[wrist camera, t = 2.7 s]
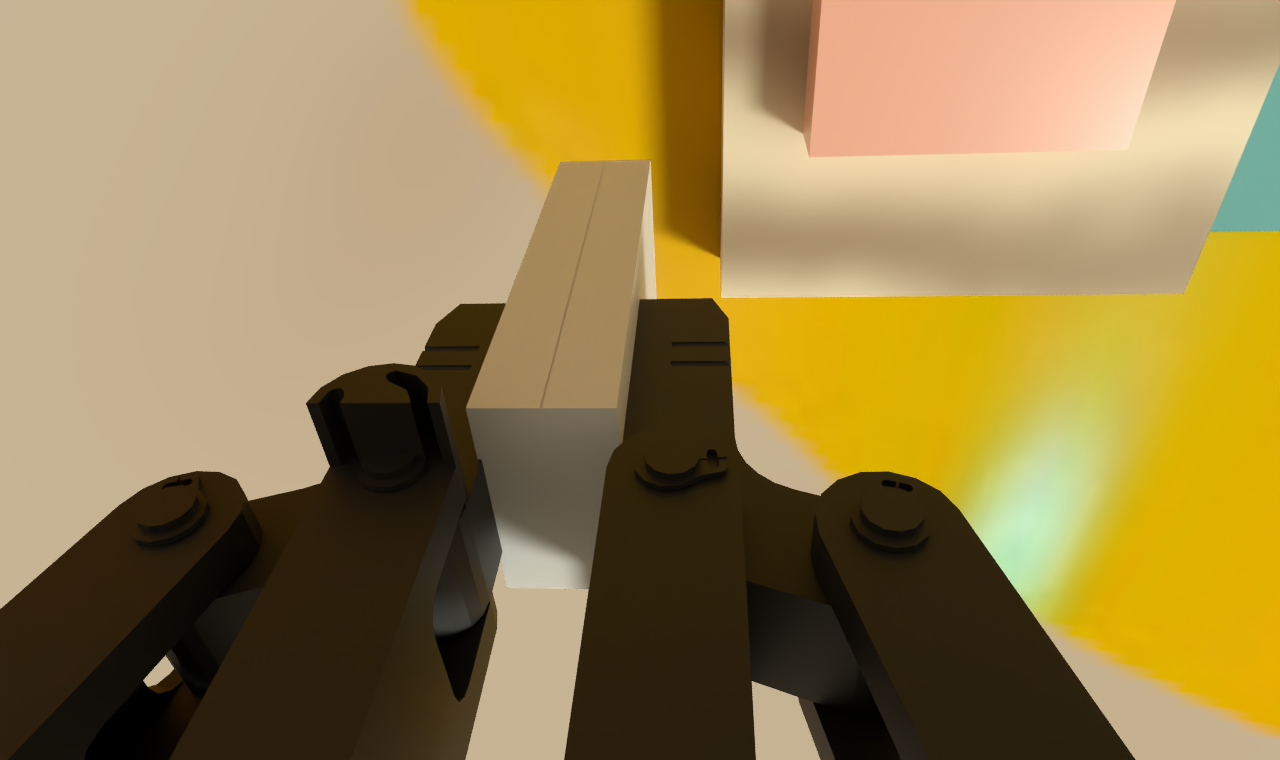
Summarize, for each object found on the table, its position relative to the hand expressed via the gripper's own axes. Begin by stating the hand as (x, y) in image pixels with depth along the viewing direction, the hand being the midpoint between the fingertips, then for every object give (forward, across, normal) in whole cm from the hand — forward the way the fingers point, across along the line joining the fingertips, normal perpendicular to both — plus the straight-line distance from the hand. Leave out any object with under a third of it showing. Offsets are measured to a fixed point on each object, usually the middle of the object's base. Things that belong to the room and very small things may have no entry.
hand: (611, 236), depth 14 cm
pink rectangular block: (+13, +9, 0) cm, 16 cm away
